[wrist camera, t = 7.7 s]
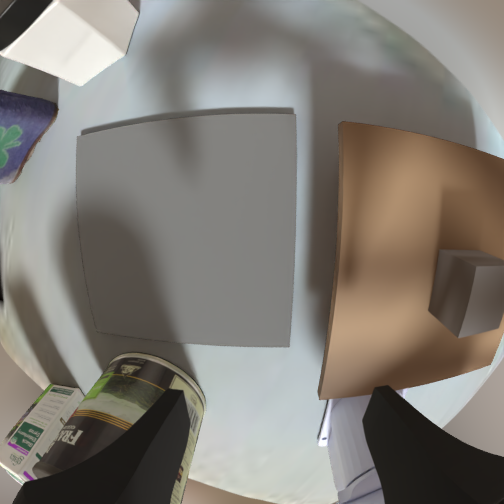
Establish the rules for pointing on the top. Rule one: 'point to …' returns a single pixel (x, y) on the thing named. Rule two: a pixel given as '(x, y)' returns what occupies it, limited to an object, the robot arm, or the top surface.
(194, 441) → the coffee can
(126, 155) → the mat
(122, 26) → the jar
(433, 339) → the lid
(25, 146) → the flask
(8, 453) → the syrup box
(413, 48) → the top surface
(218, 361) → the top surface
